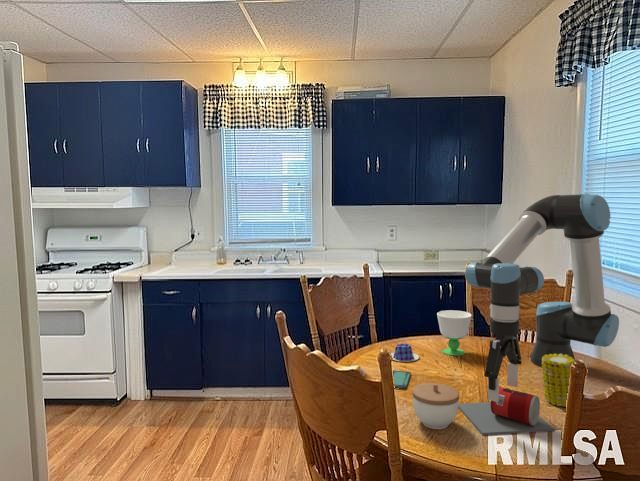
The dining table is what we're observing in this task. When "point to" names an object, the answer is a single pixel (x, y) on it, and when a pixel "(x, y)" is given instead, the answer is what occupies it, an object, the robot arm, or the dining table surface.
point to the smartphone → (401, 379)
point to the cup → (454, 329)
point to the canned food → (517, 406)
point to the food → (556, 377)
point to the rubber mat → (498, 421)
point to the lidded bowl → (435, 404)
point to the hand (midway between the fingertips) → (503, 393)
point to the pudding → (404, 353)
